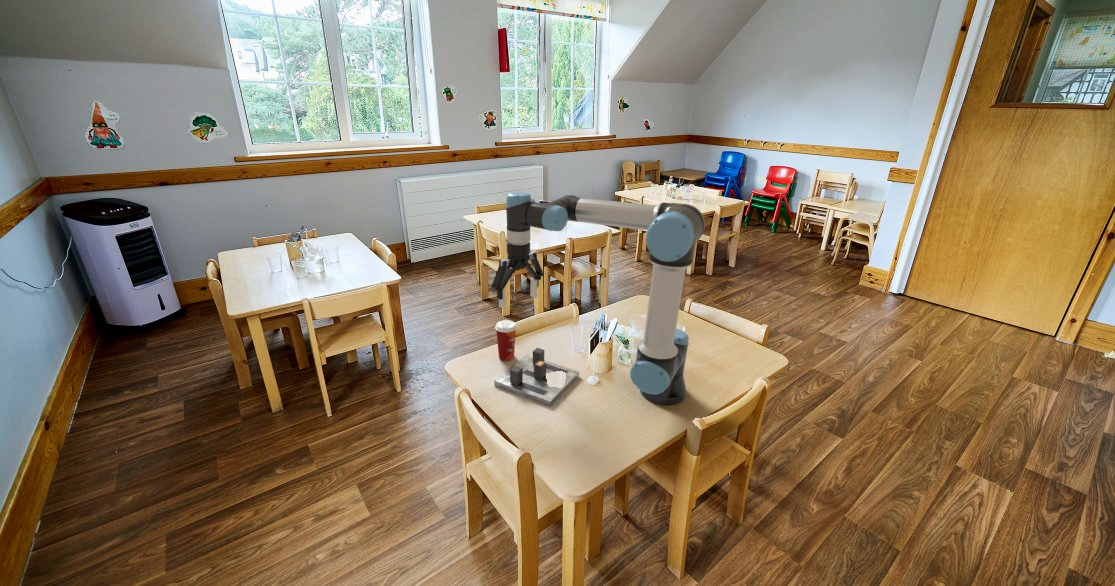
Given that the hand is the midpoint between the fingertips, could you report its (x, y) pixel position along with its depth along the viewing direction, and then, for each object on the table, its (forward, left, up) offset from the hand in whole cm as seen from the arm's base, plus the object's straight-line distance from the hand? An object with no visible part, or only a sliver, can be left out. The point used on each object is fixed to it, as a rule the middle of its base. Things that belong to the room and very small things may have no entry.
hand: (518, 301), depth 159 cm
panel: (-10, +3, -26) cm, 28 cm away
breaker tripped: (-11, +3, -24) cm, 27 cm away
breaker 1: (-6, +10, -24) cm, 27 cm away
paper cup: (+8, -4, -27) cm, 28 cm away
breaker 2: (-6, -4, -24) cm, 25 cm away
